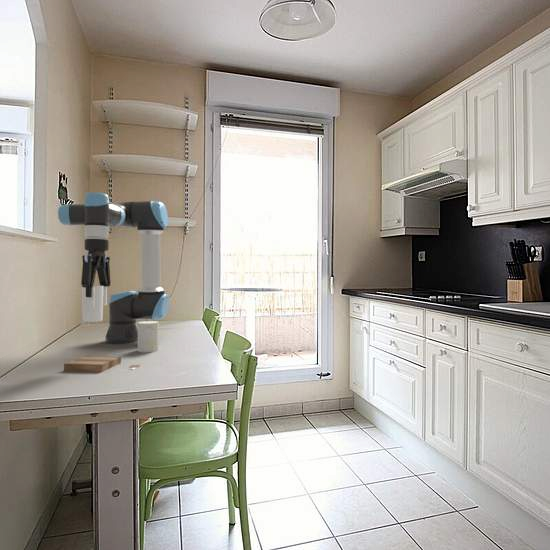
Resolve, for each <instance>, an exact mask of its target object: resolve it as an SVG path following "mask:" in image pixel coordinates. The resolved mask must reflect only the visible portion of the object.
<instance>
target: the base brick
mask: <svg viewBox="0 0 550 550" xmlns="http://www.w3.org/2000/svg"><path fill="white" fill-rule="evenodd" d="M121 363H122V356H105V355H101V356H99V355H85V356H81V357H79V358H76V359H73V360H71V361H68V362H66V363H63V372H64V373H65V372H68V373H69V372H71V373H73V372H75V373H77V372H78V373H103V372H105V371H107V370H110V369H111V368H113V367H116V366H118V365H120V364H121Z"/></svg>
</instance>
